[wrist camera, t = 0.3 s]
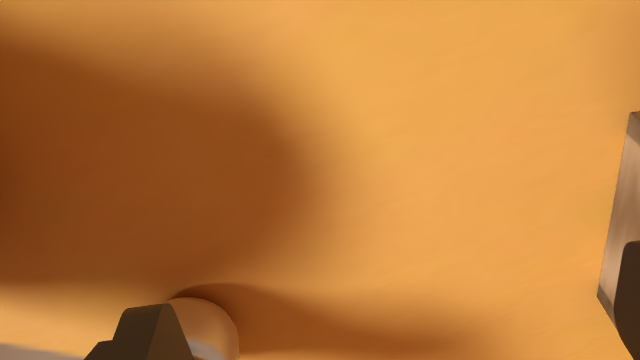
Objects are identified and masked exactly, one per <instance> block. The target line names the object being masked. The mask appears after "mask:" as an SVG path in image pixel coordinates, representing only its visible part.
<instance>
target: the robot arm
mask: <svg viewBox="0 0 640 360" xmlns="http://www.w3.org/2000/svg"><path fill="white" fill-rule="evenodd" d="M613 311H614V319H615V324H616V327H617V330H618V333H619V335H620V337H621V340H622V341H623V343H624V345H625V346H626V348H627V349H628V351H629V353H630V354H631V356H632V357H633V359H634V360H640V240H638V241H631V242H628V243H626V245H625V246H624V249H623V253H622V259H621V265H620V270H619V276H618V282H617V288H616V294H615V300H614V307H613ZM84 360H194V357H193V355H192V352H191V350H190V347H189V345H188V342H187V340H186V338H185V335H184V333H183V330H182V328H181V325H180V323H179V320H178V318H177V315H176V313H175V311H174V308H173V307H172V305H171V304H169V303H163V304H156V305H148V306H141V307H134V308H128V309H126V310H125V311H124V312H123V314H122V316H121V318H120V321H119V324H118V326H117V329H116V332H115V334H114V337H113V340H109V341H102V342H98V344H97V345H96V346H95V347H94V348H93V349H92V351H91V352H90V353H89V354H88V355H87V357H86V358H85V359H84Z"/></svg>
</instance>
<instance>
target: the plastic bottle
mask: <svg viewBox="0 0 640 360" xmlns="http://www.w3.org/2000/svg"><path fill="white" fill-rule="evenodd" d="M164 303H169V304H171V305H172V307H173V308H174V311H175V313H176V315H177V318H178V320H179V323H180V325H181V328H182V330H183V333H184V335H185V338H186V340H187V342H188V345H189V347H190V350H191V352H192V355H193V357H194V360H239V358H240V353H239V340H238V332H237V329H236V326H235V324H234V323H233V321H232V320H231V318H230V317H229V316H228V314H227V313H226V312H225V311H224V310H223V309H222V308H220V307H219V306H218V305H216V304H214V303H212V302H210V301H207V300H204V299H201V298H194V297H181V298H175V299H172V300H168V301H166V302H164ZM162 304H163V303H162Z"/></svg>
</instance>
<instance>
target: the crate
mask: <svg viewBox="0 0 640 360" xmlns="http://www.w3.org/2000/svg"><path fill="white" fill-rule="evenodd" d="M638 240H640V111H639V112H633V113H630V116H629V121H628V127H627V132H626V138H625V144H624V149H623V155H622V160H621V166H620V171H619V177H618V182H617V188H616V193H615V199H614V204H613V210H612V215H611V221H610V226H609V232H608V237H607V243H606V248H605V254H604V259H603V265H602V270H601V276H600V281H599V287H598V292H597V298H598V299H599V301H600V303H601V304H602V306H603V308H604V309H605V311H606V313H607V314H608V316H609V318H610V319H611V321H612V322H613V324H614V326H615V327H616V324H615V319H614V311H613V307H614V300H615V294H616V288H617V282H618V276H619V270H620V265H621V259H622V253H623V249H624V246H625V245H626V243H628V242H631V241H638ZM616 329H617V327H616ZM617 331H618V330H617Z"/></svg>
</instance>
